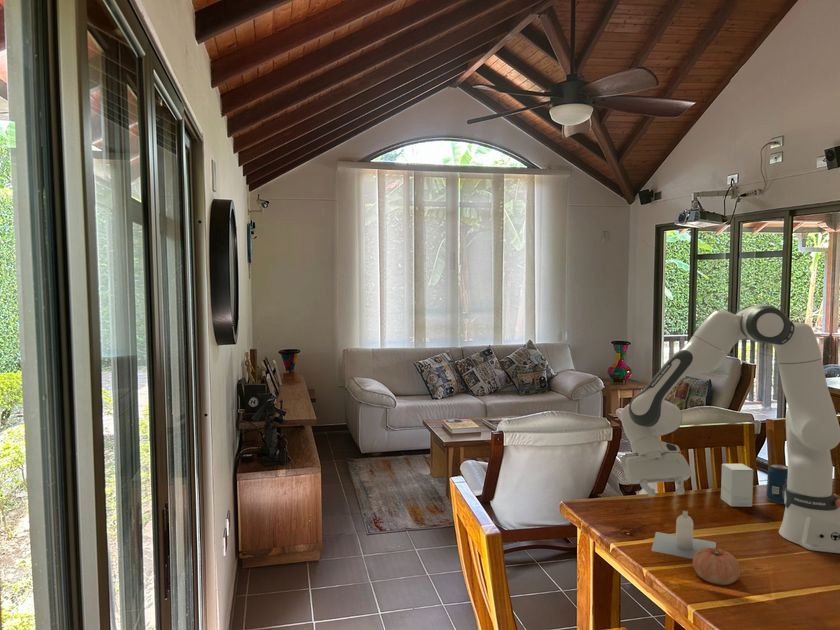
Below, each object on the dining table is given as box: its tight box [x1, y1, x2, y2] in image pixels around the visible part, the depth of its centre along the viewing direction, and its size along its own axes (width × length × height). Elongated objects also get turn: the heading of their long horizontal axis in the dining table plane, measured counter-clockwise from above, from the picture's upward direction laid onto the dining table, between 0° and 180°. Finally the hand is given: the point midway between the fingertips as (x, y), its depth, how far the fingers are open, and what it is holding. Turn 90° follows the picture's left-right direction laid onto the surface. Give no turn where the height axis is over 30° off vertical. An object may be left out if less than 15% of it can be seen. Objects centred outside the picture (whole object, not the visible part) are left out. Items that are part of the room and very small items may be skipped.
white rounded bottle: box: [675, 510, 694, 550], centre depth 168 cm, size 4×4×10 cm
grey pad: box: [650, 531, 717, 560], centre depth 169 cm, size 16×14×1 cm
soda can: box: [766, 463, 788, 504], centre depth 206 cm, size 7×7×12 cm
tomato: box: [692, 547, 741, 586], centre depth 151 cm, size 11×11×8 cm
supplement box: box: [720, 463, 754, 508], centre depth 204 cm, size 7×7×13 cm
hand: (667, 494), depth 176 cm, fingers open, 8 cm apart
